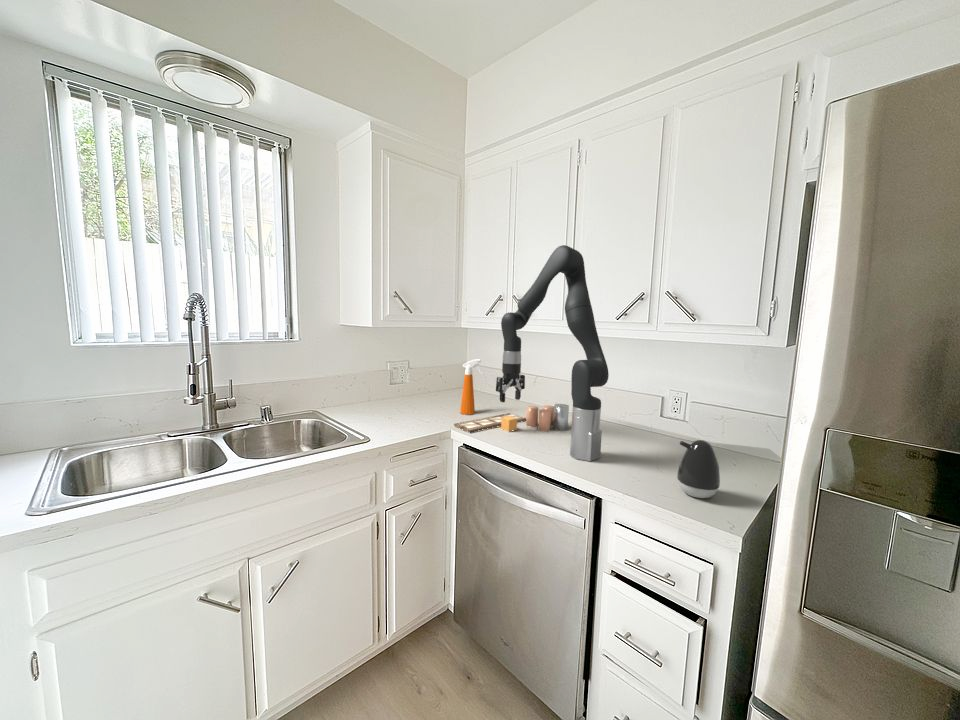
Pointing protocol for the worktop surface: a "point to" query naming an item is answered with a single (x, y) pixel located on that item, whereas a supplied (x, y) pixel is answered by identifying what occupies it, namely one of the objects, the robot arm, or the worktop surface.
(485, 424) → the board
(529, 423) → the tan cylinder
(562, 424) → the grey tin
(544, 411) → the tan cylinder
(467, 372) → the spray bottle
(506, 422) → the block
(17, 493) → the worktop surface
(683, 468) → the pump dispenser
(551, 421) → the tan cylinder
